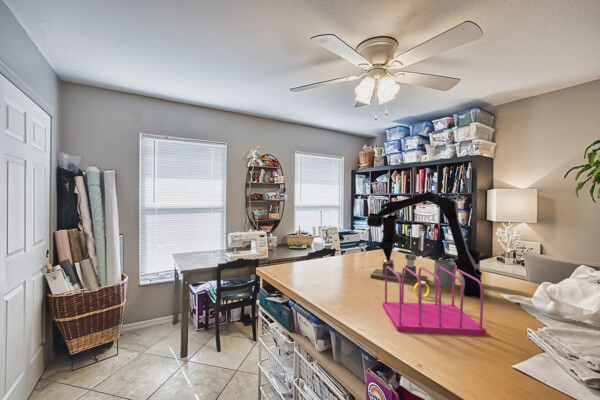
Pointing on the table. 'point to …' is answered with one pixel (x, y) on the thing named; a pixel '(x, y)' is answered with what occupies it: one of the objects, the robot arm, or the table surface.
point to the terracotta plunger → (388, 262)
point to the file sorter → (432, 310)
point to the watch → (422, 284)
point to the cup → (444, 277)
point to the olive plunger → (410, 260)
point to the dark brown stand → (408, 276)
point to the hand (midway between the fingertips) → (388, 260)
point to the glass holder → (476, 259)
